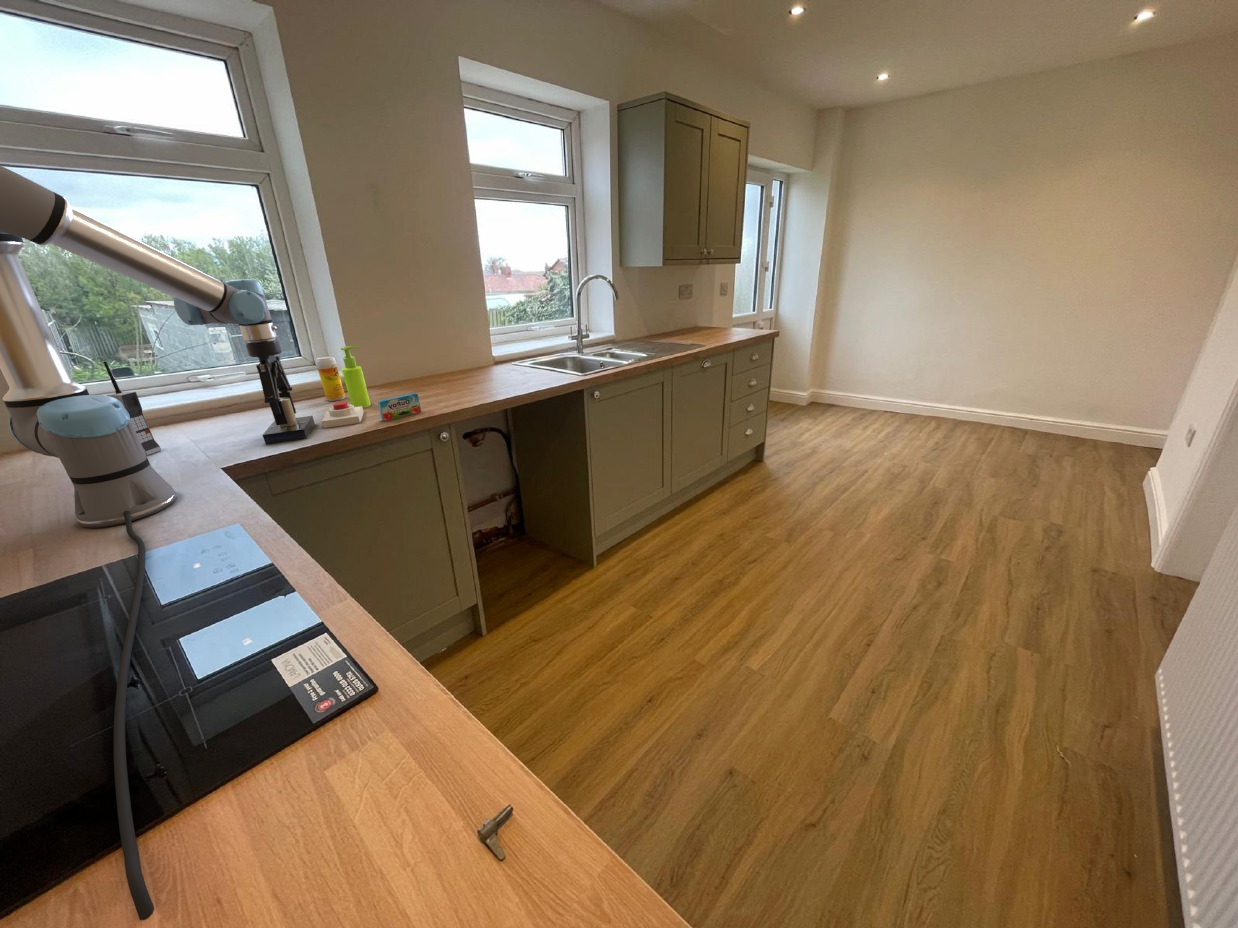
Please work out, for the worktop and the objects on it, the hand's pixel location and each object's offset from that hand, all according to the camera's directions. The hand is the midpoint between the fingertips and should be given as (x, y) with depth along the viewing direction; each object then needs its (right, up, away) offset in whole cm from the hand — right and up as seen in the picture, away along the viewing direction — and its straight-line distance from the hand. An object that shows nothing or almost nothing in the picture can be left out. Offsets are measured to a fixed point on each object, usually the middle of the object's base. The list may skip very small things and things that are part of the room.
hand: (286, 418), depth 144 cm
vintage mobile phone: (-33, -10, -7) cm, 35 cm away
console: (0, -4, +2) cm, 5 cm away
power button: (+9, +4, +11) cm, 15 cm away
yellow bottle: (-7, +10, +37) cm, 39 cm away
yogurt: (+27, +2, +14) cm, 31 cm away
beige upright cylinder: (0, -2, +1) cm, 2 cm away
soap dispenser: (+8, +7, +27) cm, 29 cm away
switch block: (+10, +1, +13) cm, 16 cm away
